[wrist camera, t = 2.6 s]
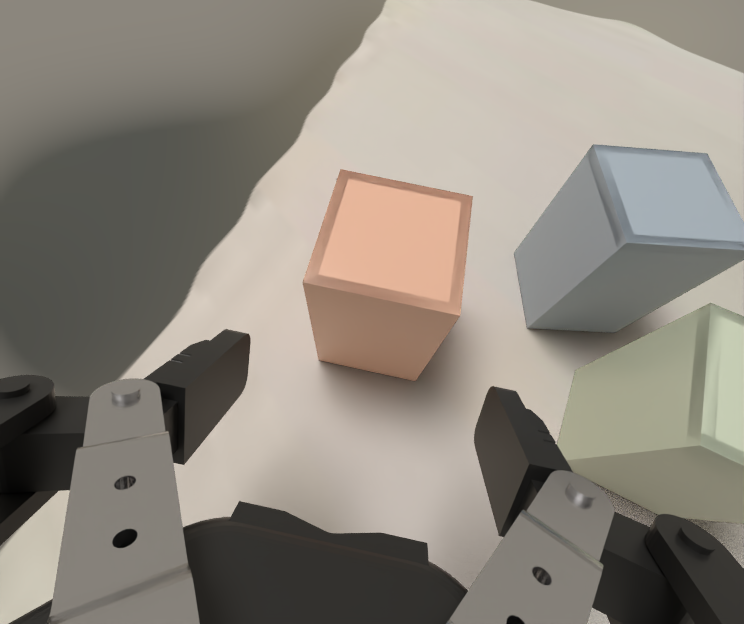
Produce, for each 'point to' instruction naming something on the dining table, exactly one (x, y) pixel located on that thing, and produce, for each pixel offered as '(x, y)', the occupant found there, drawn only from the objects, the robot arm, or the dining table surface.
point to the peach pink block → (387, 273)
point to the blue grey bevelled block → (626, 239)
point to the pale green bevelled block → (666, 418)
